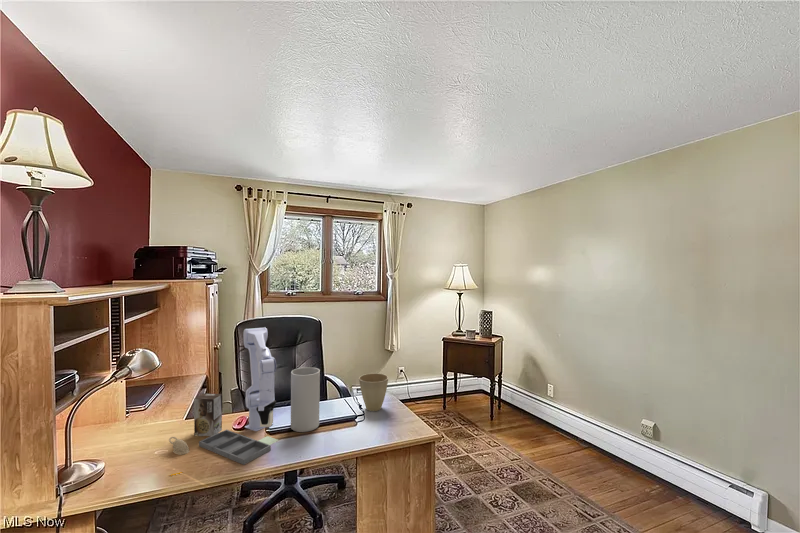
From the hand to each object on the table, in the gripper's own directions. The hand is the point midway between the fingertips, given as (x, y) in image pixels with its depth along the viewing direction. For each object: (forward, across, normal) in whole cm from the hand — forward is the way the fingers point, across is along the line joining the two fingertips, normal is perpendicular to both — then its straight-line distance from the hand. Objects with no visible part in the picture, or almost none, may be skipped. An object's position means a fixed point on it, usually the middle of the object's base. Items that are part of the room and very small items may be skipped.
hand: (266, 421), depth 150 cm
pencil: (+9, +19, -18) cm, 28 cm away
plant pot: (+9, -35, +43) cm, 56 cm away
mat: (+9, 0, 0) cm, 9 cm away
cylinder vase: (+9, -15, +13) cm, 21 cm away
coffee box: (+9, -9, -28) cm, 30 cm away
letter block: (+1, 0, 0) cm, 1 cm away
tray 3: (+9, +10, -3) cm, 13 cm away
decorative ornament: (+9, +7, -31) cm, 33 cm away
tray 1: (+9, 0, -18) cm, 20 cm away
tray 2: (+9, +5, -11) cm, 15 cm away
